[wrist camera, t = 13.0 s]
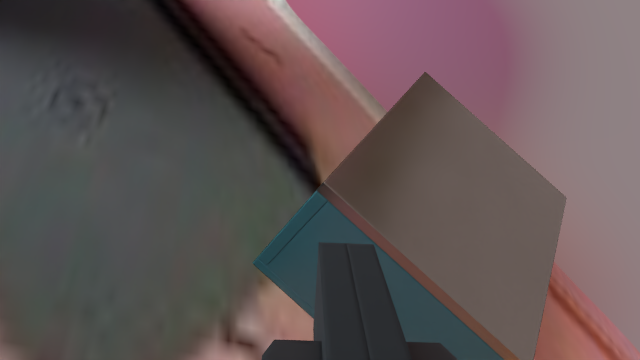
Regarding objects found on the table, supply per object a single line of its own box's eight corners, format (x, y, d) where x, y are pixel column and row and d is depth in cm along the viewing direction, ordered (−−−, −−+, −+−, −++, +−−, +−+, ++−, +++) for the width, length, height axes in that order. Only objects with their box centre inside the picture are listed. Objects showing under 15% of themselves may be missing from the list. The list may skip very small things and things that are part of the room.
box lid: (418, 79, 35) (425, 71, 34) (557, 203, 35) (567, 197, 34) (316, 190, 24) (323, 182, 23) (519, 373, 24) (532, 369, 23)
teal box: (352, 153, 40) (414, 83, 34) (471, 261, 40) (556, 209, 34) (252, 263, 30) (315, 191, 24) (412, 408, 30) (518, 374, 24)
